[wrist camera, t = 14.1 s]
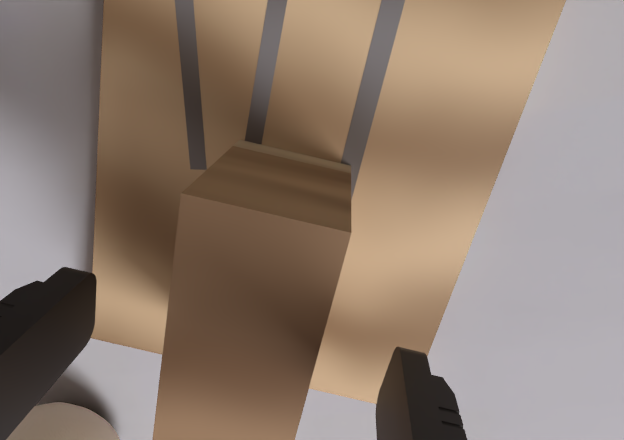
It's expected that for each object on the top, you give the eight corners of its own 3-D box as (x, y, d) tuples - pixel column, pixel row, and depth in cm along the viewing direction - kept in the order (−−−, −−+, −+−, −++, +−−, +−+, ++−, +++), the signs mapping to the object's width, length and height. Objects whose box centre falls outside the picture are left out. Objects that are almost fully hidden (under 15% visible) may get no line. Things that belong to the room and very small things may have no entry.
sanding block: (239, 139, 16) (181, 193, 10) (351, 165, 16) (351, 233, 11) (209, 326, 19) (151, 444, 13) (303, 348, 19) (284, 475, 14)
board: (145, -438, 12) (123, -488, 11) (667, -309, 12) (700, -345, 11) (103, 321, 21) (89, 337, 20) (402, 391, 21) (405, 410, 20)
